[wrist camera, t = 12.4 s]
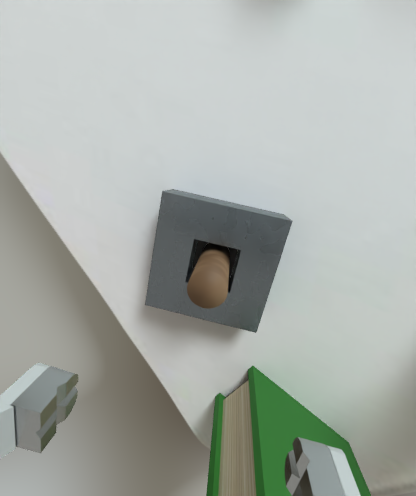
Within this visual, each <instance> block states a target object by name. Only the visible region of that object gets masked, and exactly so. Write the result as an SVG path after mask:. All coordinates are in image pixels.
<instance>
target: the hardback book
mask: <svg viewBox="0 0 416 496" xmlns="http://www.w3.org/2000/svg"><path fill="white" fill-rule="evenodd" d="M248 379H249V380H248V381H246V382H245V383H244V384H243V385H241V386H240V387H239V388H238V389H236V390H235V391H234V392H233V393H232V394H230V395H229V396H228V397H227V398H226V397H224V396H223V395H222V394H221V393H219V394H218V395H217V396H216V397H215V407H214V418H213V429H212V440H211V451H210V462H209V473H208V485H207V496H292V495H291V494H290V492H289V490H288V489H287V487H286V482H285V469H284V468H285V460H286V457H287V454H288V452H290V451H292V450H293V444H292V443H293V441H294V439H295V438H296V437H300V438H303V439H307V440H311V441H314V442H318V443H322V444H325V445H327V446H331V447H335V448H338V449H341V450H342V451H343V452H344V454H345V456H346V459H347V461H348V464H349V467H350V469H351V472H352V474H353V477H354V480H355V482H356V485H357V487H358V490H359V493H360V495H361V496H371V494H370V492H369V489H368V487H367V485H366V482H365V480H364V478H363V475H362V473H361V471H360V468H359V466H358V464H357V461H356V459H355V457H354V454H353V452H352V449H351V447H350V445H349V442H347V441H346V440H345V439H344V438H342V437H341V436H340V435H339V434H337V433H336V432H335V431H334V430H332V429H331V428H330V427H329V426H327V425H326V424H325V423H324V422H322V421H321V420H320V419H319V418H317V417H316V416H315V415H314V414H312V413H311V412H310V411H309V410H307V409H306V408H305V407H304V406H302V405H301V404H300V403H299V402H297V401H296V400H295V399H294V398H292V397H291V396H290V395H289V394H287V393H286V392H285V391H284V390H283V389H281V388H280V387H279V386H278V385H276V384H275V383H274V382H273V381H271V380H270V379H269V378H268V377H266V376H265V375H264V374H263V373H261V372H260V371H259V370H258V369H256V368H255V367H254V366H252V367H251V368H249V369H248Z"/></svg>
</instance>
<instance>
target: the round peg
mask: <svg viewBox="0 0 416 496" xmlns="http://www.w3.org/2000/svg"><path fill="white" fill-rule="evenodd" d="M229 265H230V251H229V249H228V247H226V246H222V245H218V244H213V243H208V244H207V245H206V246H205V247H204V248H203V250H202V253H201V255H200V257H199V259H198V262H197V264H196V266H195V268H194V271H193V273H192V275H191V277H190V279H189V282H188V284H187V293H188V296H189V298H190V300H191V301H192V302H193V303H194V304H196V305H197V306H199V307H202V308H207V309H210V308H215V307H218V306H219V305H221V304H222V303H223V302H224V301H225V299H226V297H227V294H228V280H229Z"/></svg>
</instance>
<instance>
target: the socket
mask: <svg viewBox="0 0 416 496" xmlns="http://www.w3.org/2000/svg"><path fill="white" fill-rule="evenodd" d="M291 224H292V220H290V219H289V218H288V217H286V216H285V215H284V214H279V213H275V212H270V211H266V210H262V209H257V208H253V207H249V206H244V205H240V204H235V203H231V202H227V201H222V200H218V199H214V198H209V197H205V196H200V195H196V194H192V193H187V192H183V191H178V190H174V189H172V190H167V191H162V197H161V204H160V210H159V217H158V223H157V230H156V237H155V243H154V250H153V256H152V263H151V270H150V276H149V283H148V289H147V296H146V303H145V305H148V306H152V307H156V308H160V309H164V310H168V311H172V312H176V313H180V314H184V315H188V316H192V317H196V318H200V319H204V320H208V321H212V322H216V323H220V324H224V325H228V326H232V327H236V328H240V329H244V330H248V331H252V332H257V329H258V326H259V323H260V319H261V316H262V313H263V310H264V307H265V304H266V301H267V298H268V295H269V292H270V289H271V285H272V282H273V279H274V276H275V273H276V270H277V267H278V264H279V261H280V258H281V255H282V252H283V248H284V245H285V242H286V239H287V236H288V233H289V230H290V227H291ZM198 240H201V241H205V242H209V243H213V244H218V245H222V246H226V247H230V248H235V249H238V251H237V255H236V258H235V262H234V266H233V270H232V274H231V277H229V280H228V294H227V297H226V299H225V301H224V302H223V303H222V304H221V305H219V306H218V307H215V308H210V309H207V308H202V307H199V306H197V305H196V304H194V303H193V302H192V301H191V300H190V298H189V296H188V293H187V284H188V282H189V279H190V277H191V275H192V273H193V271H194V268H192V266H193V261H194V256H195V251H196V247H197V242H198Z"/></svg>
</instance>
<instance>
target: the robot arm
mask: <svg viewBox="0 0 416 496" xmlns="http://www.w3.org/2000/svg"><path fill="white" fill-rule="evenodd" d="M77 382H78V375H77V374H74V373H71V372H68V371H65V370H62V369H58V368H56V367H52V366H49V365H46V364H42V363H37V364H35V365H33V366H32V367H31V368H30V369H29V370H28V371H27V372H25V373H24V374H23V375H22V376H21V377H20V378H19V379H18V380H17V381H16V382H14V383H13V384H12V385H11V386H10V387H9V388H8V389H7V390H6V391H5V392H3V393H2V394H1V395H0V459H1V458H2V457H4V456H5V455H7V454H8V453H10V452H11V451H13V450H14V449H16V447H20V448H23V449H27V450H31V451H35V452H38V453H41V452H42V451H43V449H44V448H45V447H46V445H47V444H48V443H49V441H50V440H51V439H52V437H53V436H54V434H55V433H56V425H57V424H58V423H60V422H62V421H64V420H65V419H66V418H67V416H68V415H69V414H70V412H71V410H72V408H73V406H74V404H75V402H76V399H77V392H78V391H77V389H76V387H75V385H76V384H77ZM292 444H293V450H292V451H290V452H288V454H287V457H286V460H285V468H284V469H285V482H286V487H287V489H288V490H289V492H290V494H291V495H292V496H361V495H360V493H359V490H358V487H357V485H356V482H355V480H354V477H353V474H352V472H351V469H350V467H349V464H348V461H347V459H346V456H345V454H344V452H343V451H342V450H341V449H338V448H335V447H331V446H327V445H325V444H322V443H318V442H314V441H311V440H307V439H303V438H300V437H296V438H295V439H294V441H293V443H292Z"/></svg>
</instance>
